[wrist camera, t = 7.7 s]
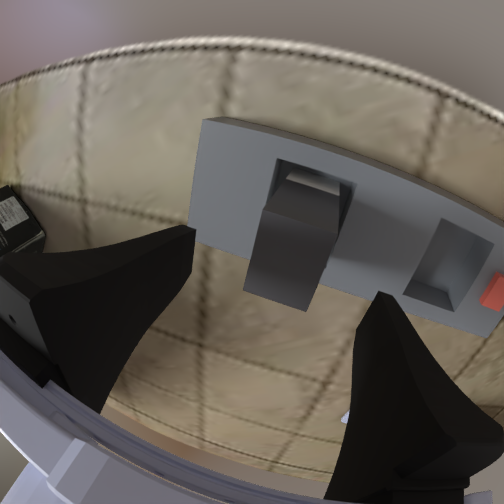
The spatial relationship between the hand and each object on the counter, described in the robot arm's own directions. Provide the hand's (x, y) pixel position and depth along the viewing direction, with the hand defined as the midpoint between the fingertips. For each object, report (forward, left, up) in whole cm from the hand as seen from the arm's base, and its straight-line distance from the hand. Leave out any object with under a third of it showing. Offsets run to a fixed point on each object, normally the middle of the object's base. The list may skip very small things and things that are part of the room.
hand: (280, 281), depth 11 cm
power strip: (-5, 0, -10) cm, 11 cm away
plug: (0, 0, -9) cm, 9 cm away
